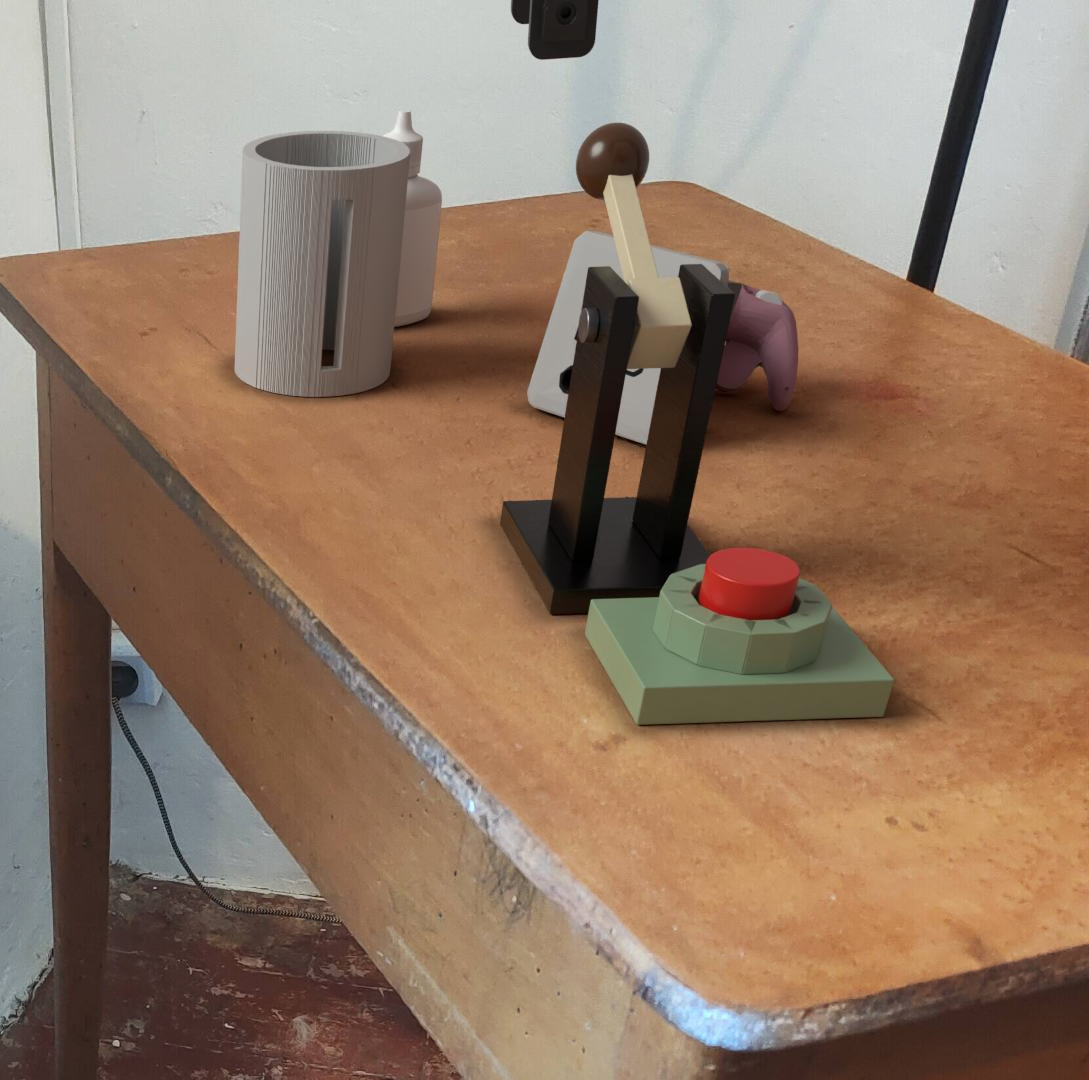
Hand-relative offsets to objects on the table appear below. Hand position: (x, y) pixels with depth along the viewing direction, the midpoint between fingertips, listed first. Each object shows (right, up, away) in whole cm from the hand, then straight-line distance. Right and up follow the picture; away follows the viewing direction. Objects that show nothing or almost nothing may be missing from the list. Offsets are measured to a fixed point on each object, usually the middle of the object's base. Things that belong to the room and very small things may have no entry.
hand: (549, 38), depth 64 cm
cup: (-4, +2, +39) cm, 40 cm away
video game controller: (+18, -1, +35) cm, 40 cm away
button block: (+10, -22, +9) cm, 25 cm away
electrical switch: (+12, -3, +33) cm, 35 cm away
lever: (+7, -2, +14) cm, 16 cm away
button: (+10, -19, +7) cm, 23 cm away
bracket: (+7, -15, +18) cm, 24 cm away
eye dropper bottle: (+2, +8, +47) cm, 47 cm away
